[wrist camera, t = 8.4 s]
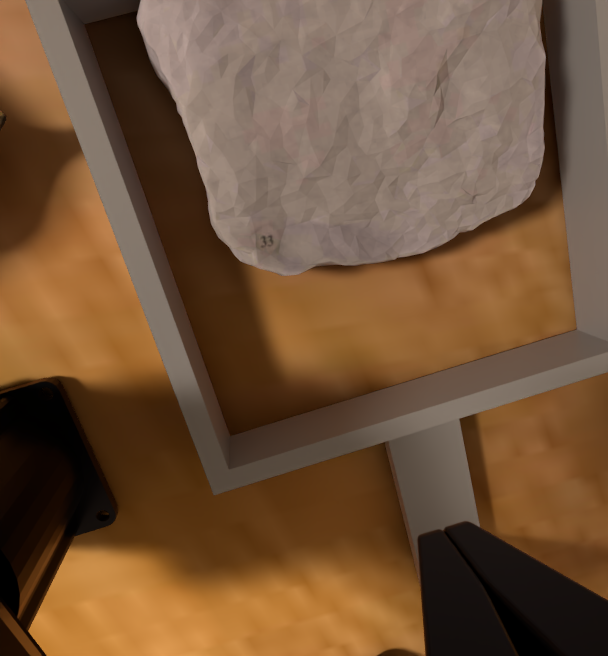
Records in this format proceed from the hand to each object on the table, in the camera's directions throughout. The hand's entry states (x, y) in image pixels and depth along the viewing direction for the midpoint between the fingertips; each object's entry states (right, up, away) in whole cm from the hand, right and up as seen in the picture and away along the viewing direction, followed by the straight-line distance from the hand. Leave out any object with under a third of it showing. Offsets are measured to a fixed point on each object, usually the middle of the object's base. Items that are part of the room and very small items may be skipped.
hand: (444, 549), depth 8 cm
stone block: (-1, +11, +10) cm, 15 cm away
